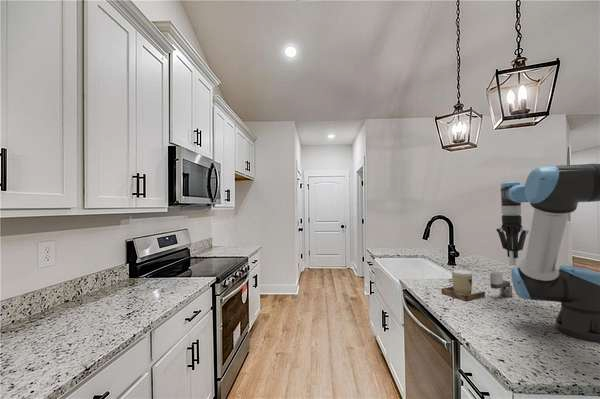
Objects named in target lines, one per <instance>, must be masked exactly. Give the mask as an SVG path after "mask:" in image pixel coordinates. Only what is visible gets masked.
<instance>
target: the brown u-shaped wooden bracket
mask: <svg viewBox="0 0 600 399" xmlns="http://www.w3.org/2000/svg"><path fill="white" fill-rule="evenodd" d="M441 294H442V295H446V296H448V297H452V298H455V299H458V300H462V301H463V302H464V301H465V302H470V301H474V300H478V299H482V298H485V297H486V292H485V291H483V290H482V291H478V292H475V293H474V292H473V293H471V294H469V295H463V294H460V293H457V292H454V289H453V285H452V286H448V287H443V288H441Z"/></svg>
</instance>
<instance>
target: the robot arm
mask: <svg viewBox="0 0 600 399" xmlns="http://www.w3.org/2000/svg"><path fill="white" fill-rule="evenodd" d="M500 198H501V199H500V200H501V201H500V202H501V214H502V215H501V223H502V224H501V226H500V227H499V228H496V232H497V233H498V237H499V240H500V243H501V246H502V249H504V250H506V252H507V253H506V254H507V258H509V265H510V266H515V267H512V268H511V270H510V272H511V273H510V274H511V281H512V282H511V283H512V284H513V285H512V287H513V288H514V292H515V294H516V295H517V296H518V298H520V299H522V300H528V301H540V302H541V301H542V302H554V303H555V302H556V303H560V309H559V311H558V314H557V317H556V319H555V328H556V330H558V331H559V332H561V333H563V334H565V335H567V336H570V337H573V338H577V339H580V340H583V341H584V340H585V341H590V342H595V343H596V342H597V343H600V272H598V271H596V270H593V269H589V268H584V267H578V266H572V265H563V264H562V265H560V266H559V267H556V266H557V262H558V261H557V260H558V257H559V253H560V249H561V245H562V240H563V238H564V233H565V229H566V225H567V220H568V217H569V215H570V214H571V213H573V212H575V211H576V210H577V207H578V205H579V203H592V202H593V203H594V202H600V163H584V164H583V163H582V164H565V165H564V164H562V165H561V164H560V165H552V164H551V165H547V166H537V167H535V168H534V169H533V170H531V171H530V172H529V174H528V176H527V178H526V180H525V184H521V182H519V181H506V182H502V183H501V184H500ZM522 203H529V205H530V206H531V207H532V208H533V209H534V212H533V216H532V221H531V222H532V223H531V226H530V227H531V228H530V232H529V230H527V229H525V228H523V225H522V223H523V222H522V215H521V214H522ZM528 234H529V238H528V244H527V248H526V253H525V258H524V259H523V260H521V261H520V262H519V265H518V266H516V265H517V259H518V258H519V251H523V249H524V247H525V246H524V245H525V241H526V237H527V235H528Z"/></svg>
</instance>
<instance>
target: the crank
mask: <svg viewBox="0 0 600 399" xmlns="http://www.w3.org/2000/svg"><path fill="white" fill-rule="evenodd" d="M489 275H490V288H491V289H495V290H498V289H499V290H500V288H503V287H507V286H511V281H509V280H503V272H499V271H494V272H490V274H489Z"/></svg>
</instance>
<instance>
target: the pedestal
mask: <svg viewBox="0 0 600 399" xmlns="http://www.w3.org/2000/svg"><path fill="white" fill-rule="evenodd" d="M499 294H500V296H501V297H503V298H513V285H510V286H507V287H503V288H499Z"/></svg>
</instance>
